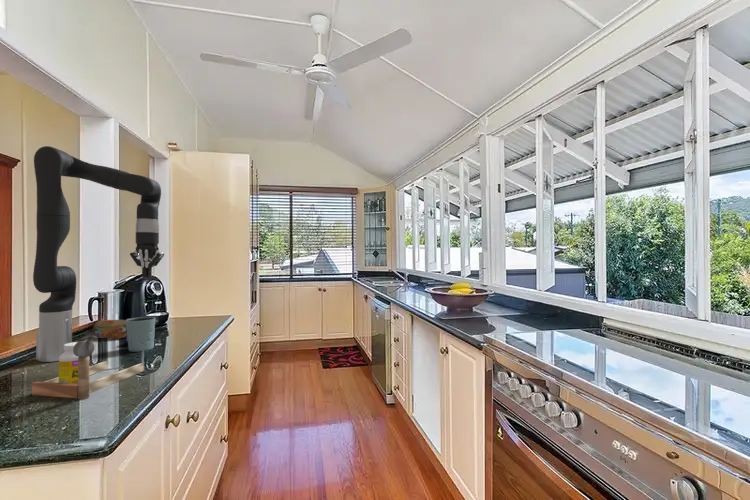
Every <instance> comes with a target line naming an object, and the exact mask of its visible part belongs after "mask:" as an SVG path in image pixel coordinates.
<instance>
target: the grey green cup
mask: <svg viewBox="0 0 750 500" xmlns="http://www.w3.org/2000/svg"><path fill="white" fill-rule="evenodd" d="M125 321H126V327H127V336H126V337H127V338H128V342H127V348H128V352H137V353H138V352H146V351H149V350H152V349H154V347H155V333H156V331H155V327H156V317H155V316H140V317H132V318H127V319H126V320H125Z"/></svg>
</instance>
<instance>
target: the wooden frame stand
mask: <svg viewBox="0 0 750 500" xmlns="http://www.w3.org/2000/svg"><path fill="white" fill-rule="evenodd" d="M97 339H98V338H97V337H96V336H94V335H87V336H86V340H80V341H76V342H77V343H76V344H75V346H74V348H73V353H74V355H75V356H79V357H78V384H65V383H58V378H59V376H57V377H54V378H51V379H48V380H45V381H34V382H32V383H31V395H32V396H42V397H56V398H67V399H69V398H70V399H77V400H86V399H88V398H89V397H90V394H91V393H93V392H96V391H98V390H100V389H104V388H105V387H107V386H110V385H113V384H115V383H117V382H121V381H123V380H125V379H127V378H130V377H132V376H134V375H138V374H140V373H142V372H144V370H145V369H144V367H145V366H144V362H141V363H138V364H135V365H132V366H130V367H128V368H124V369H122V370H119V371H116V372H113V373H111V374H108V375H105V376H104V377H100V378H99V379H95V380H94V381H90V376H92V375H94V374H95V375H96V374H98V373H101V372H103V371H106V370H109V361H108V360H104V361H101V362H99V363H96V364H93V365H90V359H91V358H90V356H91V355H93V353H94V351H95V344H94V342H93V341H96V340H97Z"/></svg>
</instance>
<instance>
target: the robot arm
mask: <svg viewBox="0 0 750 500" xmlns="http://www.w3.org/2000/svg"><path fill="white" fill-rule="evenodd" d="M33 166H34V175H35V182H36V245H35V246H36V247H35V248H36V249H35V258H34V259H35V260H34V266H33V275H32V281H33V285H34V288H35V289H36V290H37V291H38V292H39V293H42V294H49V293H50V296H48V298H47V299H46V300H44V301H43V302H41V303H40V304H39V306H38V311H39V312H38V332H37V333H36V337H35V338H36V339H35V340H36V343H35V344H36V345H35V347H36V349H35V350H36V351H35V353H36V354H35V355H36V356H35V358H36V361H38V362H40V363H49V362H59V357H60V355H61V354H63V353H64V352H65V350H64V344H67V343H72V342H73V306H74V303H75V301H76V293H77V291H76V290H77V275H76V272H75V270H74V268H72V267H70V266H67V265H58V254H59V251H60V248H61V246H62V245H63V243H64V242H65V240H66V239H67V237H68V235H69V233H70V230H71V214H70V213H71V212H70V208H69V205H68V202H67V200H66V197H65V195H64V192H63V188H62V177H65V178H66V177H67V178H68V177H69V178H77V179H82V180H87V181H89V182H90V181H91V182H93V183H96V184H99V185H102V186H105V187H109V188H112V189H116V190H120V191H124V192H125V191H126V192H130V193H133V194H136V195H138V196H140V203H138V204H137V206H136V221H135V244H136V247H135V250H134V251H133V252H130V253H129V255H130V257H131V258H132V260H133V261H134V263H135V264H136V266H137V267H141V272H142V273H141V276H142V278H144V279H150V278H151V277H152V270H153V267H156V266H158V264H159V263H160V262H161V260H162V259H163V258H164V256H165V253H164V252H161V251H160V249H159V243H160V240H159V239H160V232H159V231H160V224H159V206H160V203H161V196H162V188H161V185H160V184H159V182H158V181H156V180H154V179H152V178H151V177H147V176H144V175H140V174H134V173H129V172H127V171H124V170H120V169H117V168H114V167H108V166H104V165H98V164H93V163H90V162H87V161H83V160H81V159H79V158H77V157H74V156H72V155H70V154H68V152H65V151H63V150H61V149H59V148H57V147H52V146H51V145H50V146H49V145H48V146H47V145H46V146H41V147H39V148H38V149H37V150H36V151H35V153H34V155H33Z"/></svg>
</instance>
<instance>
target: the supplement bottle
mask: <svg viewBox="0 0 750 500" xmlns="http://www.w3.org/2000/svg"><path fill="white" fill-rule="evenodd" d="M77 342H78V341H72V343H67V344H64V350H65V352H64V353H63V354H61V355H60V357H59V361H58V377H59V378H58V383H65V384H78V357H79V356H75V355H74V353H73V348H74V346H75V344H76V343H77Z"/></svg>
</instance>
